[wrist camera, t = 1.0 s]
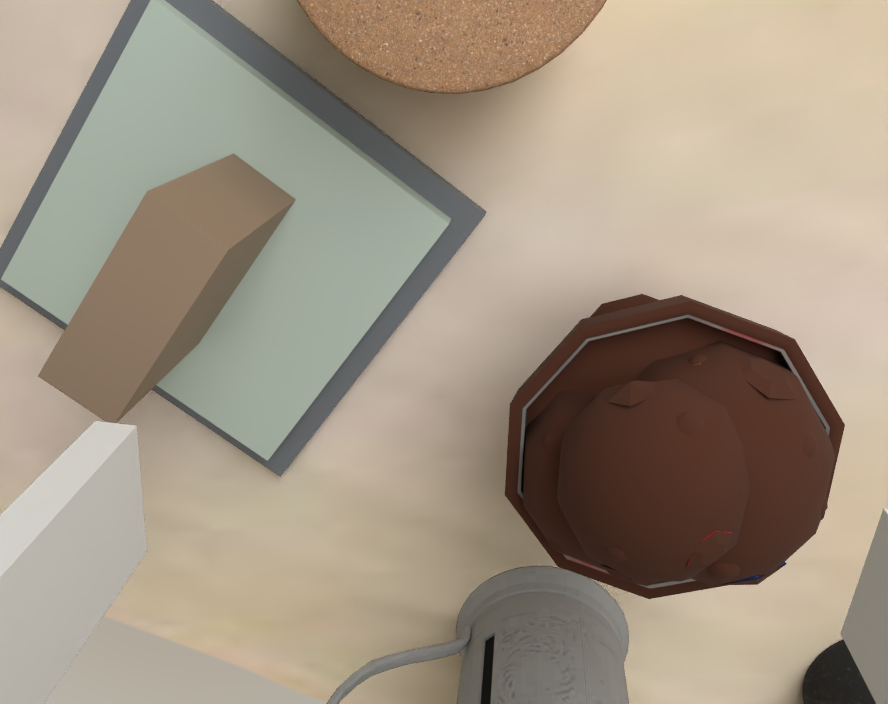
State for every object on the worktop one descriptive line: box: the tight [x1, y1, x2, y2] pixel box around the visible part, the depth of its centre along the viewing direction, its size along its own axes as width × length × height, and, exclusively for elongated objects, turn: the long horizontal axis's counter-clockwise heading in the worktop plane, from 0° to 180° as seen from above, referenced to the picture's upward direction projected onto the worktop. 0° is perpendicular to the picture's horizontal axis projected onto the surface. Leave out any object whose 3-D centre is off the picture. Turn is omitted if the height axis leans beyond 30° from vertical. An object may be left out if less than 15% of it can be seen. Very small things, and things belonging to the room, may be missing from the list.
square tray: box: [0, 0, 486, 477], centre depth 36 cm, size 16×16×1 cm
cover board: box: [1, 0, 451, 461], centre depth 31 cm, size 14×14×9 cm
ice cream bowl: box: [505, 294, 845, 599], centre depth 29 cm, size 11×11×15 cm
